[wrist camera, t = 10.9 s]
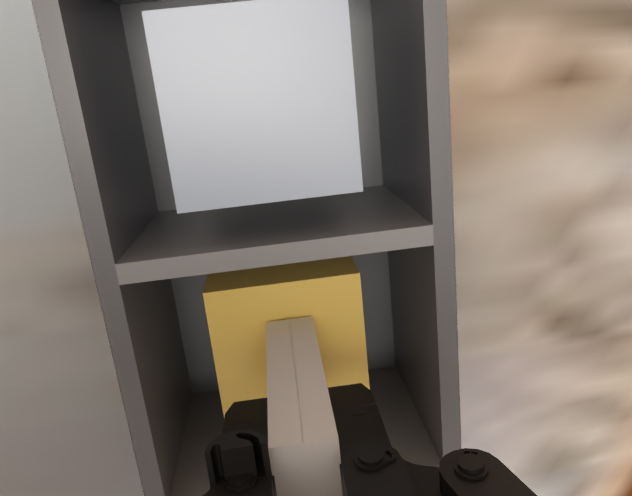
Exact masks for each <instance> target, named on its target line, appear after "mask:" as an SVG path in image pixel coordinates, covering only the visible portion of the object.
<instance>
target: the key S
mask: <svg viewBox="0 0 632 496" xmlns="http://www.w3.org/2000/svg"><path fill="white" fill-rule="evenodd" d="M141 12H142V18H143V23H144V29H145V35H146V40H147V46H148V51H149V57H150V63H151V68H152V74H153V80H154V85H155V91H156V97H157V102H158V108H159V113H160V119H161V125H162V130H163V136H164V142H165V147H166V153H167V159H168V164H169V170H170V175H171V181H172V187H173V192H174V198H175V204H176V209H177V214H179V213H188V212H196V211H204V210H213V209H221V208H229V207H238V206H246V205H254V204H263V203H271V202H279V201H288V200H296V199H304V198H313V197H321V196H329V195H338V194H346V193H355V192H363V182H362V169H361V156H360V144H359V131H358V119H357V106H356V94H355V81H354V68H353V56H352V43H351V31H350V18H349V6H348V0H250V1H240V2H230V3H219V4H209V5H199V6H189V7H178V8H168V9H158V10H148V11H141Z"/></svg>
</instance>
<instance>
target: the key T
mask: <svg viewBox="0 0 632 496" xmlns="http://www.w3.org/2000/svg"><path fill="white" fill-rule="evenodd" d="M203 298H204V304H205V310H206V316H207V322H208V328H209V333H210V339H211V345H212V351H213V357H214V363H215V368H216V374H217V380H218V386H219V392H220V398H221V403H222V409H223V415H224V418H225V413H226V412H227V411H228V409H229V408H230V407H231V405H232V404H233V403H234V402H238V401H245V400H252V399H260V398H267V346H266V322H272V321H280V320H287V319H295V318H302V317H310V316H312V318H313V322H314V327H315V332H316V336H317V341H318V346H319V350H320V355H321V359H322V364H323V369H324V373H325V378H326V383H327V387H328V388H329V387H336V386H343V385H350V384H357V383H362V384H363V385H364V386H365V387H367V388H368V389H369V390H370V385H369V373H368V362H367V350H366V338H365V326H364V314H363V303H362V291H361V279H360V272H359V270H358V268H357V266H356V265H355V263H354V261H353V259H352V257H351V256H346V257H338V258H330V259H322V260H314V261H306V262H298V263H290V264H282V265H275V266H267V267H259V268H251V269H243V270H235V271H227V272H219V273H211V274H208V276H207V280H206V283H205V287H204V290H203Z"/></svg>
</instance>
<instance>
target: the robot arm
mask: <svg viewBox="0 0 632 496" xmlns="http://www.w3.org/2000/svg"><path fill="white" fill-rule="evenodd" d="M266 346H267V398H260V399H252V400H245V401H238V402H234V403H233V404H232V405H231V407H230V408H229V409H228V411H227V412H226V413H225V418H224V428H223V434H222V435H220V436H218V437H216V438H215V439H213V440H212V441H211V442H210V443H209V444H208V445H207V447H206V450H205V452H204V454H205V460H206V465H207V470H208V476H209V481H210V490H209V491H208V492H207V493H205V494H204V495H202V496H537V495H536V494H535V493H534V492H533V491H531V490H530V489H529V488H528V487H527V486H526V485H525V484H524V483H523V482H522V481H521V480H520V479H519V478H518V477H517V476H516V475H514V474H513V473H512V472H511V471H510V470H509V469H508V468H507V467H506V466H505V465H504V464H503V463H502V462H501V461H500V460H499V459H497V458H496V457H494V456H493V455H491V454H490V453H487V452H484V451H481V450H478V449H467V448H464V449H459V450H454V451H452V452H450V453H448V454H446V455H445V456H444V457H443V458H442V459H441V461H440V464H439V467H433V466H423V465H417V464H413V463H410V462H408V461H406V460H404V459H402V457H401V456H400V454H399V453H398V451H397V450H396V449H394V448H393V447H392V446H391V443H390V441H389V438H388V435H387V432H386V429H385V427H384V424H383V421H382V418H381V415H380V414H379V410H378V407H377V405H376V402H375V399H374V396H373V393H372V391H370V390H369V389H368V388H367V387H365V386H364V385H363V384H362V383H357V384H350V385H343V386H336V387H329V388H328V387H327V383H326V378H325V373H324V369H323V364H322V359H321V355H320V350H319V346H318V341H317V336H316V332H315V327H314V322H313V318H312V316H310V317H302V318H295V319H287V320H280V321H272V322H266Z"/></svg>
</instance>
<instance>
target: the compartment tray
mask: <svg viewBox="0 0 632 496" xmlns="http://www.w3.org/2000/svg"><path fill="white" fill-rule="evenodd" d="M240 1H250V0H32V5H33V9H34V14H35V18H36V22H37V27H38V31H39V36H40V40H41V44H42V49H43V53H44V57H45V62H46V66H47V71H48V75H49V79H50V84H51V88H52V93H53V97H54V101H55V106H56V110H57V114H58V119H59V123H60V128H61V132H62V136H63V141H64V145H65V150H66V154H67V158H68V163H69V167H70V172H71V176H72V180H73V185H74V189H75V193H76V198H77V202H78V207H79V211H80V215H81V220H82V224H83V229H84V233H85V237H86V242H87V246H88V250H89V255H90V259H91V264H92V268H93V272H94V277H95V281H96V286H97V290H98V294H99V299H100V303H101V308H102V312H103V316H104V321H105V325H106V329H107V334H108V338H109V343H110V347H111V351H112V356H113V360H114V365H115V369H116V373H117V378H118V382H119V387H120V391H121V395H122V400H123V404H124V408H125V413H126V417H127V422H128V426H129V430H130V435H131V439H132V444H133V448H134V452H135V457H136V461H137V465H138V470H139V474H140V479H141V483H142V487H143V492H144V496H202V495H204V494H205V493H207V492H208V491H209V490H210V481H209V476H208V470H207V465H206V460H205V454H204V452H205V450H206V447H207V445H208V444H209V443H210V442H211V441H212V440H213V439H215V438H216V437H218V436H220V435H222V434H223V428H224V415H223V409H222V403H221V398H220V392H219V386H218V380H217V374H216V368H215V363H214V357H213V351H212V345H211V339H210V333H209V328H208V322H207V316H206V310H205V304H204V298H203V290H204V287H205V283H206V280H207V276H208V274H211V273H219V272H227V271H235V270H243V269H251V268H259V267H267V266H275V265H282V264H290V263H298V262H306V261H314V260H322V259H330V258H338V257H346V256H351V257H352V259H353V261H354V263H355V265H356V266H357V268H358V270H359V272H360V279H361V291H362V303H363V314H364V326H365V338H366V350H367V362H368V373H369V385H370V391H372V393H373V396H374V399H375V402H376V405H377V407H378V410H379V414H380V415H381V418H382V421H383V424H384V427H385V429H386V432H387V435H388V438H389V441H390V443H391V446H392V447H393V448H394V449H396V450H397V451H398V453H399V454H400V456H401V457H402V459H404V460H406V461H408V462H410V463H413V464H417V465H423V466H433V467H439V464H440V461H441V459H442V458H443V457H444V456H445V455H446V454H448V453H450V452H452V451H454V450H459V449H461V425H460V395H459V365H458V335H457V306H456V276H455V246H454V216H453V186H452V156H451V126H450V96H449V67H448V37H447V7H446V0H348V6H349V18H350V31H351V43H352V56H353V68H354V81H355V94H356V106H357V119H358V131H359V144H360V156H361V169H362V182H363V192H355V193H346V194H338V195H329V196H321V197H313V198H304V199H296V200H288V201H279V202H271V203H263V204H254V205H246V206H238V207H229V208H221V209H213V210H204V211H196V212H188V213H179V214H177V209H176V204H175V198H174V192H173V187H172V181H171V175H170V170H169V164H168V159H167V153H166V147H165V142H164V136H163V130H162V125H161V119H160V113H159V108H158V102H157V97H156V91H155V85H154V80H153V74H152V68H151V63H150V57H149V51H148V46H147V40H146V35H145V29H144V23H143V18H142V12H141V11H148V10H158V9H168V8H178V7H189V6H199V5H209V4H219V3H230V2H240Z"/></svg>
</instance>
